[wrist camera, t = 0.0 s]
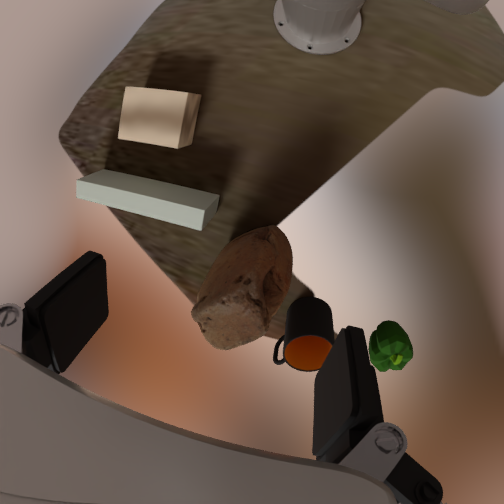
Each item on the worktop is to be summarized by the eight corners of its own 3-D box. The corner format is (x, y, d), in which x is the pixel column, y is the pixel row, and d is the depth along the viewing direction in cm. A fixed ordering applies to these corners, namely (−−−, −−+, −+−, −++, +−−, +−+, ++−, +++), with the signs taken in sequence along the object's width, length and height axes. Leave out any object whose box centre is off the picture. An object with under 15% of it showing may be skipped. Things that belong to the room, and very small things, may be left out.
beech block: (144, 88, 41) (125, 86, 36) (201, 94, 41) (188, 92, 36) (137, 134, 45) (117, 138, 40) (192, 144, 45) (177, 148, 39)
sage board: (104, 169, 48) (76, 179, 41) (219, 195, 47) (204, 210, 40) (103, 185, 50) (76, 197, 42) (216, 212, 49) (201, 230, 42)
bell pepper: (388, 351, 56) (397, 387, 47) (357, 339, 55) (363, 376, 46) (414, 323, 52) (428, 358, 43) (383, 308, 51) (394, 344, 42)
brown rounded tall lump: (243, 278, 53) (214, 359, 35) (219, 243, 51) (176, 314, 33) (299, 251, 49) (295, 331, 32) (275, 213, 47) (258, 277, 29)
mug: (262, 321, 57) (254, 360, 47) (313, 288, 52) (315, 325, 43) (290, 347, 58) (286, 386, 49) (340, 318, 54) (345, 357, 44)
